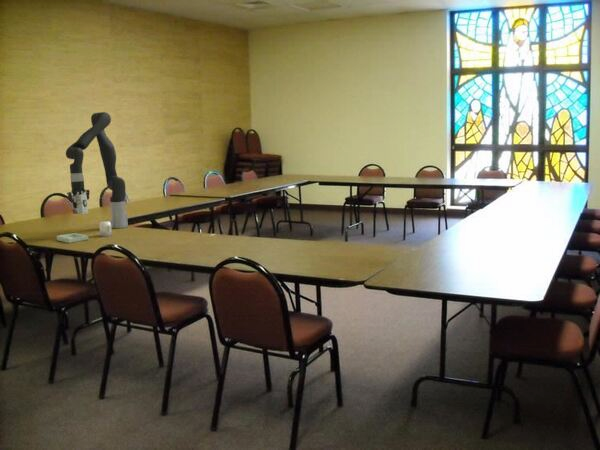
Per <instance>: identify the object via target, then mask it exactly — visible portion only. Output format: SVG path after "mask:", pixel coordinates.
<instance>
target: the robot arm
mask: <svg viewBox="0 0 600 450" xmlns="http://www.w3.org/2000/svg"><path fill="white" fill-rule="evenodd" d="M90 121H91V125H92V126H91V127H90V128H88V130H86V131H84V132H83V133H82V134H81V135H80V136H79V137H78V139H77V140H76V141H75V142H73V143H72V144H71V145H69V147H68V148H67V149H66V151H65V156H66V158H67V159H69V160H73V163H71V164H70V165H69V172H70V174H69V175H70V186H71V190H70V191H67V192H66V194H67V198H68V201H69V202H70V203H71V204H72V203H73V208H75V209H76V208H77V206H76V199H77V195H81V194H86V195H87V201H88V200H90V189H85V179H84V174H83V164H84V163H83V162H84V150H86V149H87V148H88V147H89V145H90V144H91V143H92V142H93V141H94V139H95V138H96V139H97V140H96V141H97V145H98V148H99V153H100V158H101V160H102V164H103V168H104V172H105V173H104V174H105V181H106V186H107V188H108V190H111V191H112V192H111V196H110V198H109V205H110V216H111V229H123V228H125V229H126V228H128V227H129V224H128V212H127V211H126V201H125V200H126V195H127V194H126V193H127V192H126V191H127V190H126V181H125V180H124V179H123V178H122V177H119V176H118V174H117V169H116V163H117V153H116V149H115V146H114V144H113V142H112V141H111V139H110V138H109V137H108V136H107V134H106V132H105V131H106V130H105V129H106V128H107V127H108V126H109V125H110V124H111V121H112V117H111V115H110V114H109V113H108V112H105V111H103V112H94V113H93V114H91V117H90ZM72 195H74V196H75V197H74V196H73V199H72Z"/></svg>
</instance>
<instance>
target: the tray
mask: <svg viewBox="0 0 600 450" xmlns="http://www.w3.org/2000/svg"><path fill="white" fill-rule="evenodd" d="M56 240H57V241H59V242H62V243H63V242H64V243H67V244H68V243H69V244H74V243H78V242H84V241H85V240H86V241H89V236H88V235H86V234H80V233H75V232H73V233H67V234H60V235H56Z"/></svg>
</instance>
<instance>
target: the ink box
mask: <svg viewBox="0 0 600 450" xmlns="http://www.w3.org/2000/svg"><path fill="white" fill-rule="evenodd" d="M73 196H74V195H73V194H72V199H73ZM74 197H75V196H74ZM71 206H72V207H71V208H72V214H75V215H84V214H89V206H88V200H87V195H86V193H84V194H81V195H77V199H76V206H77V208H76V209H75V208H73V203H72V202H71Z"/></svg>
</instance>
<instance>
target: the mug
mask: <svg viewBox="0 0 600 450" xmlns="http://www.w3.org/2000/svg"><path fill="white" fill-rule="evenodd" d="M98 227H99V236H100V237H110V236H112V234H113V233H112V221H99V222H98Z"/></svg>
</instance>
